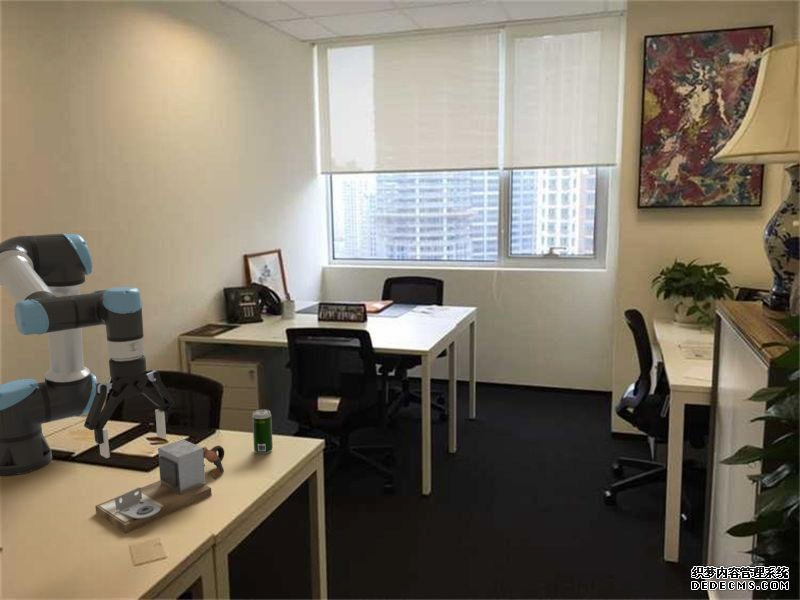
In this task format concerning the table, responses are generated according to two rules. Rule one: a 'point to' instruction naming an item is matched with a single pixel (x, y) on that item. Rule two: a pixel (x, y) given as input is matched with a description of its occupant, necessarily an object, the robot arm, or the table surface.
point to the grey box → (181, 466)
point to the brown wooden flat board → (152, 494)
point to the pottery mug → (215, 459)
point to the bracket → (135, 505)
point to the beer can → (262, 431)
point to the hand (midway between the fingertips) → (134, 446)
